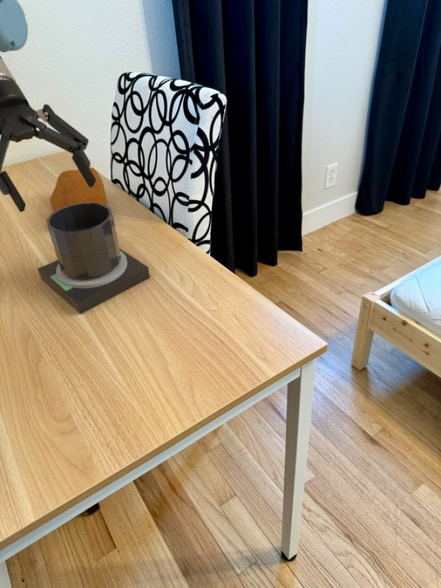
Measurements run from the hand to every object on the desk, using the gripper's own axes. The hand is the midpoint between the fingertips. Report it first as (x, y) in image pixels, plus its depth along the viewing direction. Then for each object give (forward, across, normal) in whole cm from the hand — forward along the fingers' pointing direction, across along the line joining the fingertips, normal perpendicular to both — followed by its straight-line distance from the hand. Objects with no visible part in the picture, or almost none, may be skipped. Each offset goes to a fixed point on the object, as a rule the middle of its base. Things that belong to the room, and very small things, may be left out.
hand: (59, 195), depth 77 cm
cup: (+13, 0, -4) cm, 13 cm away
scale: (+15, 0, -7) cm, 16 cm away
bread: (-4, -12, -26) cm, 29 cm away
